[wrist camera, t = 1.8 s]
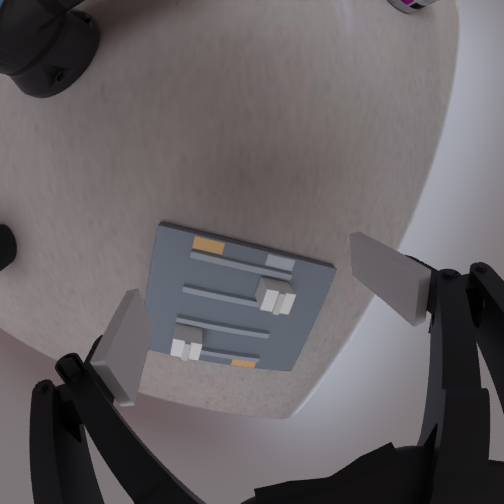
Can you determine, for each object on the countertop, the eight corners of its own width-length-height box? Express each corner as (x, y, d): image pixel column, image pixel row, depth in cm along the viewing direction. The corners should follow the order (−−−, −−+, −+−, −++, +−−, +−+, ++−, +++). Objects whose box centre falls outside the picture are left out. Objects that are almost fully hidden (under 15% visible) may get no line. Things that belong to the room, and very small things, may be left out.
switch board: (141, 340, 40) (138, 351, 37) (160, 221, 35) (156, 226, 32) (288, 364, 46) (292, 374, 43) (331, 264, 41) (339, 271, 38)
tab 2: (254, 295, 38) (260, 312, 34) (261, 276, 37) (268, 291, 33) (280, 300, 39) (289, 316, 35) (287, 282, 38) (297, 297, 34)
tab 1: (172, 338, 38) (170, 357, 34) (175, 322, 38) (172, 341, 33) (198, 343, 39) (198, 363, 35) (202, 328, 39) (202, 347, 34)
